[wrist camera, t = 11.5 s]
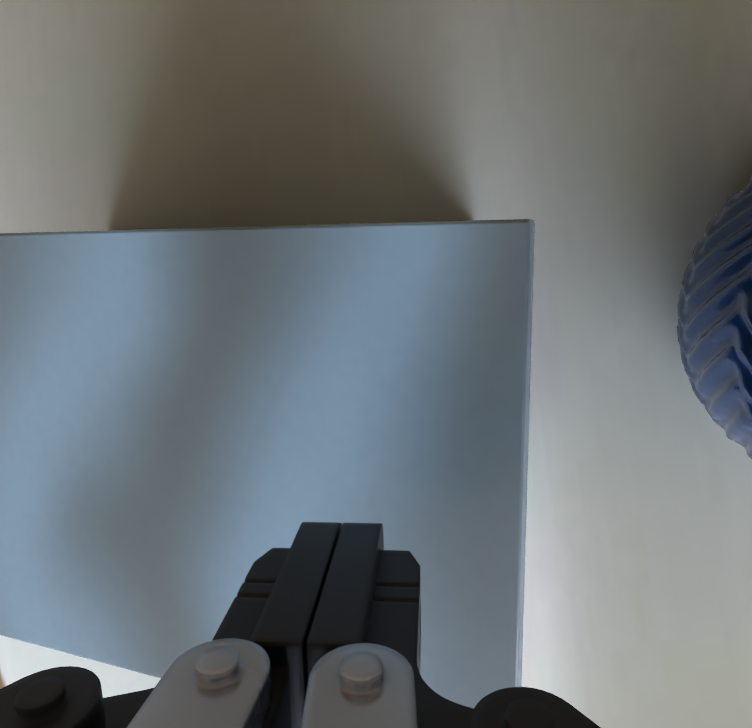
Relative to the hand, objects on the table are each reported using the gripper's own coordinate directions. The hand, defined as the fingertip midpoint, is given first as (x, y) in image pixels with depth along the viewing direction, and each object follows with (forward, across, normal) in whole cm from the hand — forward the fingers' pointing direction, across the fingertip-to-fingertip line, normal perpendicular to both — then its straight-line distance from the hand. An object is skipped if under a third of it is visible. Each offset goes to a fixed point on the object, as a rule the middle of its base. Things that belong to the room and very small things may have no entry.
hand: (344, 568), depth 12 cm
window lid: (+5, +4, 0) cm, 6 cm away
